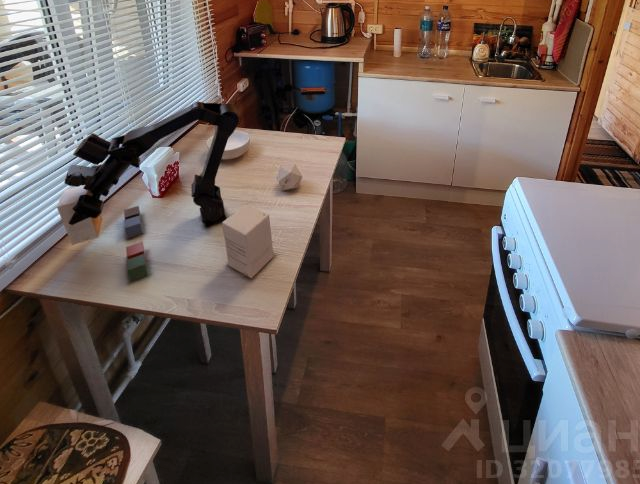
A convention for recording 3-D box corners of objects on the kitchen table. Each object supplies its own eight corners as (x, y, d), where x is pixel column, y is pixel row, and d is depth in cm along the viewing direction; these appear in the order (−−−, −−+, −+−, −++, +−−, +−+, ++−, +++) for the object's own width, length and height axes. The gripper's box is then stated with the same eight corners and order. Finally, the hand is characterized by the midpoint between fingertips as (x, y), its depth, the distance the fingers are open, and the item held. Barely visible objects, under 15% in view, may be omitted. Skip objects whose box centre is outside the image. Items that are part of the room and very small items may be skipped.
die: (272, 188, 138) (273, 179, 130) (283, 166, 143) (284, 156, 135) (293, 197, 138) (295, 189, 129) (304, 175, 143) (306, 166, 135)
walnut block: (141, 215, 123) (138, 205, 121) (141, 223, 120) (139, 212, 118) (126, 220, 121) (124, 210, 119) (127, 227, 118) (124, 217, 116)
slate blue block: (142, 225, 119) (139, 215, 117) (143, 233, 115) (140, 223, 114) (127, 230, 117) (124, 220, 115) (127, 238, 113) (125, 228, 112)
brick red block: (145, 252, 109) (142, 241, 107) (146, 261, 105) (143, 250, 104) (129, 258, 107) (126, 247, 105) (129, 268, 104) (126, 256, 102)
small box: (98, 238, 105) (84, 200, 100) (71, 245, 103) (55, 207, 98) (103, 219, 112) (90, 182, 107) (77, 226, 110) (63, 189, 105)
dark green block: (146, 265, 104) (143, 253, 103) (147, 275, 101) (144, 264, 100) (129, 271, 103) (126, 259, 101) (130, 282, 99) (127, 270, 98)
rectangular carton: (251, 244, 112) (246, 202, 107) (274, 256, 108) (270, 213, 102) (227, 265, 105) (220, 222, 99) (250, 279, 100) (245, 235, 95)
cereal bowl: (244, 166, 149) (242, 150, 147) (202, 165, 150) (199, 150, 147) (255, 144, 165) (254, 129, 163) (217, 143, 165) (215, 129, 163)
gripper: (89, 140, 108) (53, 182, 108) (72, 176, 92) (30, 225, 92) (127, 158, 114) (93, 197, 114) (117, 195, 98) (77, 240, 98)
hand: (74, 213), depth 104 cm, fingers closed on small box, 8 cm apart
